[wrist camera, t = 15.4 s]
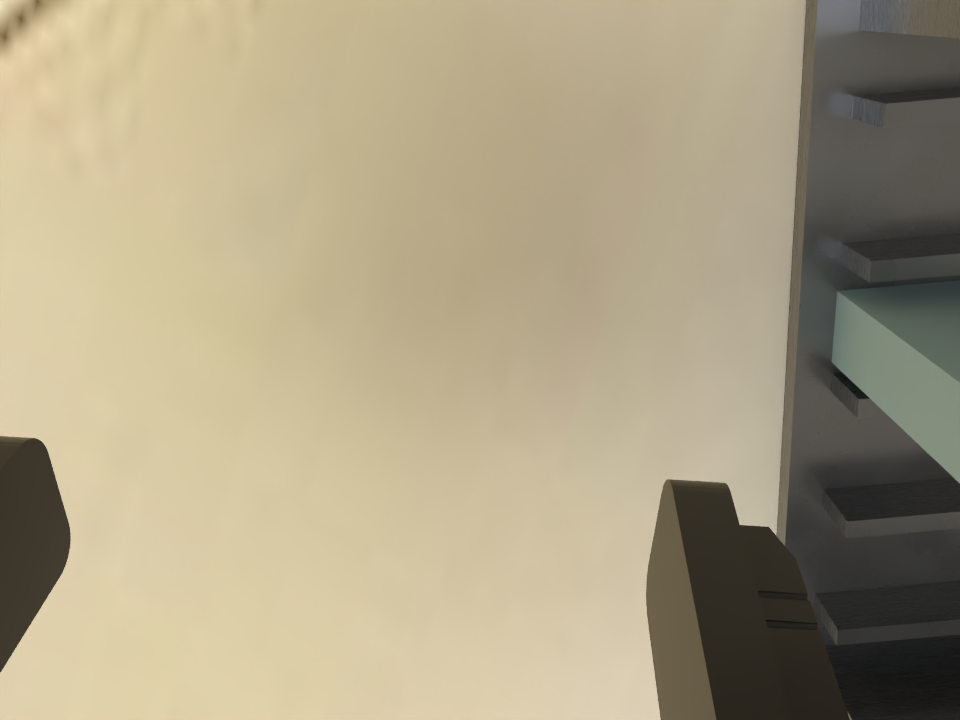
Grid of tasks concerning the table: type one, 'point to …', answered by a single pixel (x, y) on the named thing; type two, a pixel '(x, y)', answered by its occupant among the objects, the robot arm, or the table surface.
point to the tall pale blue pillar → (906, 359)
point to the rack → (830, 393)
